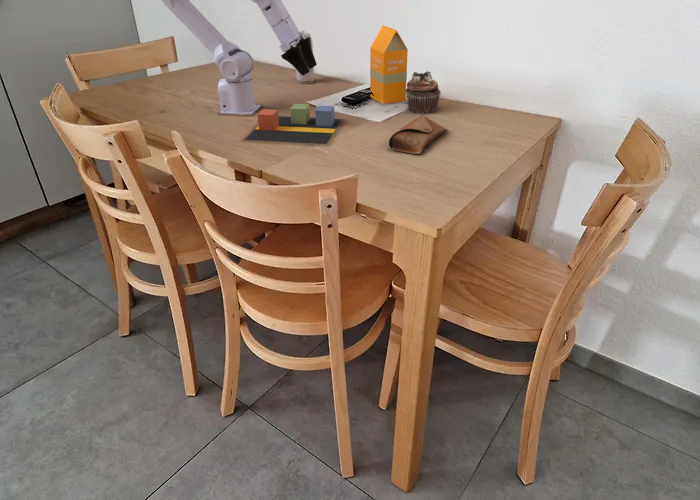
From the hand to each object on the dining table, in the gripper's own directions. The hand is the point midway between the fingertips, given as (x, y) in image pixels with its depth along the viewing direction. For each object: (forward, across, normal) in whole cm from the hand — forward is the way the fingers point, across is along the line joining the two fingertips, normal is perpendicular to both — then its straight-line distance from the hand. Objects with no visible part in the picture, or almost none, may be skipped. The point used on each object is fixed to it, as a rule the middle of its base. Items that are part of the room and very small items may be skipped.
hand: (310, 70), depth 132 cm
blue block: (+13, -8, +1) cm, 15 cm away
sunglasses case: (+26, -15, -21) cm, 37 cm away
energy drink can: (+4, +33, +15) cm, 36 cm away
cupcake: (+26, +9, -20) cm, 34 cm away
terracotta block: (+6, -13, +13) cm, 19 cm away
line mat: (+10, -13, +7) cm, 18 cm away
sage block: (+9, -7, +7) cm, 14 cm away
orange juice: (+20, +17, -10) cm, 28 cm away
